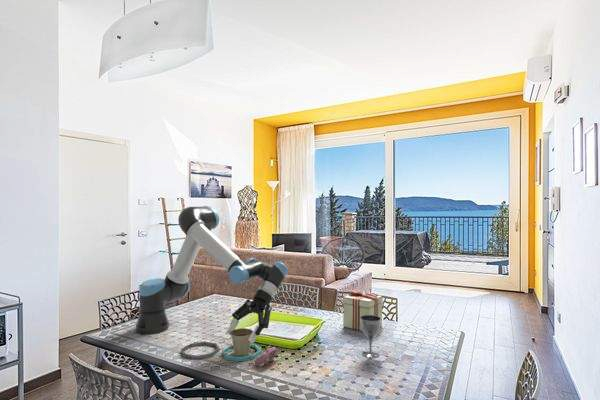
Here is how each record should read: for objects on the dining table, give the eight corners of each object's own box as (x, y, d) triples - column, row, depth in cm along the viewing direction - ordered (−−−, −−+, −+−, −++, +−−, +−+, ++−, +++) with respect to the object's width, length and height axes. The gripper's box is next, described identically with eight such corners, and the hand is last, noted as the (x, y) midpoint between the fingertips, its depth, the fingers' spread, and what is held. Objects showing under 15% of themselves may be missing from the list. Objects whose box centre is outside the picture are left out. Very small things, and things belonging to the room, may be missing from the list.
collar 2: (219, 349, 156) (219, 346, 156) (253, 343, 162) (253, 341, 162) (228, 363, 143) (228, 360, 143) (264, 356, 149) (264, 353, 149)
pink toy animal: (260, 372, 139) (267, 357, 137) (252, 364, 141) (258, 349, 139) (275, 362, 148) (282, 348, 146) (267, 355, 150) (273, 341, 148)
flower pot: (248, 358, 147) (248, 337, 147) (226, 356, 149) (226, 335, 149) (256, 349, 156) (256, 329, 156) (235, 347, 158) (235, 327, 158)
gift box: (385, 323, 190) (385, 289, 190) (371, 334, 175) (371, 297, 175) (354, 317, 199) (354, 285, 199) (339, 327, 184) (339, 292, 184)
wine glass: (368, 360, 146) (368, 322, 146) (356, 352, 153) (356, 316, 153) (384, 356, 150) (384, 319, 150) (372, 349, 157) (372, 313, 157)
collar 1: (179, 348, 158) (179, 345, 158) (214, 342, 164) (214, 339, 164) (184, 361, 144) (184, 358, 144) (222, 354, 151) (222, 351, 151)
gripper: (290, 303, 157) (265, 350, 145) (250, 294, 173) (224, 335, 161) (282, 293, 153) (255, 340, 141) (241, 284, 169) (214, 326, 157)
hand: (239, 337), depth 151 cm, fingers open, 13 cm apart
